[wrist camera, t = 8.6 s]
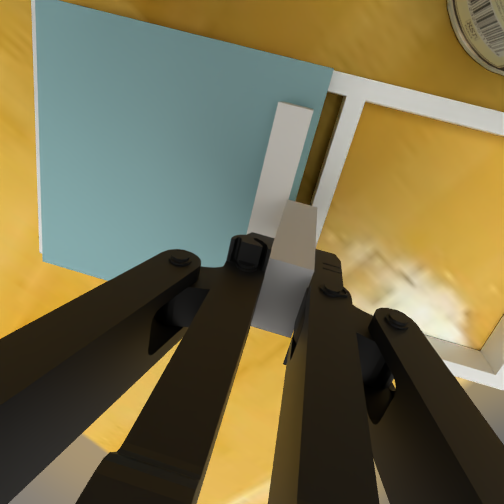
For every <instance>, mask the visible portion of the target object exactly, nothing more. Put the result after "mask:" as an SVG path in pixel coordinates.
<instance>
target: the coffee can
mask: <svg viewBox="0 0 504 504" xmlns="http://www.w3.org/2000/svg"><path fill="white" fill-rule="evenodd" d="M447 9H448V12H449V16H450V20H451V23H452V27H453V29H454V32H455V34H456V36H457V38H458V40H459V42H460V44H461V45H462V46H463V48H464V49H465V50H466V52H467V53H468V54H469V55H470V56H471V57H472V58H473V59H474V60H475V61H476V62H478V63H479V64H480V65H482V66H483V67H485V68H486V69H487V70H489V71H492V72H494V73H497V74H500V75H503V76H504V0H447Z"/></svg>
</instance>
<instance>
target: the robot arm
mask: <svg viewBox="0 0 504 504" xmlns="http://www.w3.org/2000/svg"><path fill="white" fill-rule="evenodd" d="M316 226H317V207H314V206H310V205H307V204H303V203H299V202H296V201H292V200H288V199H287V202H286V205H285V208H284V211H283V214H282V217H281V221H280V224H279V227H278V230H277V233H276V236H275V238H272V237H268V236H264V235H261V234H257V233H254V232H251V233H249V234H247V235H241V234H240V235H235V236H233V237H232V238H231V241H230V246H229V251H228V255H227V260H226V262H225V264H224V266H222V267H202V266H201V259H200V258H199V257H198V256H197V255H195V254H194V253H192V252H189V251H186V250H183V249H182V250H181V249H171V250H166V251H163V252H161V253H159V254H157V255H156V256H154V257H152V258H150V259H148V260H146V261H144V262H143V263H141V264H139V265H137V266H135V267H133V268H131V269H130V270H128V271H126V272H124V273H122V274H120V275H118V276H117V277H115V278H113V279H111V280H109V281H107V282H105V283H104V284H102V285H100V286H98V287H96V288H94V289H92V290H91V291H89V292H87V293H85V294H83V295H81V296H79V297H77V298H76V299H74V300H72V301H70V302H68V303H66V304H64V305H63V306H61V307H59V308H57V309H55V310H53V311H51V312H50V313H48V314H46V315H44V316H42V317H40V318H38V319H37V320H35V321H33V322H31V323H29V324H27V325H25V326H24V327H22V328H20V329H18V330H16V331H14V332H12V333H11V334H9V335H7V336H5V337H3V338H1V339H0V504H8V503H9V502H10V501H11V500H12V499H13V498H14V497H15V496H16V495H17V494H18V493H19V492H21V491H22V490H23V489H24V488H25V487H26V486H27V485H28V484H29V483H30V482H31V481H32V480H33V479H34V478H35V477H36V476H37V475H38V474H39V473H41V472H42V471H43V470H44V469H45V468H46V467H47V466H48V465H49V464H50V463H51V462H52V461H53V460H54V459H55V458H56V457H57V456H58V455H60V454H61V453H62V452H63V451H64V450H65V449H66V448H67V447H68V446H69V445H70V444H71V443H72V442H73V441H74V440H75V439H76V438H77V437H78V436H80V435H81V434H82V433H83V432H84V431H85V430H86V429H87V428H88V427H89V426H90V425H91V424H92V423H93V422H94V421H95V420H96V419H97V418H99V417H100V416H101V415H102V414H103V413H104V412H105V411H106V410H107V409H108V408H109V407H110V406H111V405H112V404H113V403H114V402H115V401H116V400H117V399H119V398H120V397H121V396H122V395H123V394H124V393H125V392H126V391H127V390H128V389H129V388H130V387H131V386H132V385H133V384H134V383H135V382H136V381H138V380H139V379H140V378H141V377H142V376H143V375H144V374H145V373H146V372H147V371H148V370H149V369H150V368H151V367H152V366H153V365H154V364H155V363H156V362H158V361H159V360H160V359H161V358H162V357H163V356H164V355H165V354H166V353H167V352H168V351H169V350H170V349H171V348H172V347H173V346H174V345H175V344H177V343H178V342H179V341H180V340H181V339H182V340H181V342H180V344H179V345H178V347H177V349H176V351H175V352H174V354H173V356H172V358H171V360H170V361H169V363H168V365H167V367H166V368H165V370H164V372H163V374H162V375H161V377H160V379H159V381H158V383H157V384H156V386H155V388H154V390H153V391H152V393H151V395H150V397H149V399H148V400H147V402H146V404H145V406H144V407H143V409H142V411H141V413H140V414H139V416H138V418H137V420H136V422H135V423H134V425H133V427H132V429H131V430H130V432H129V434H128V436H127V437H126V439H125V441H124V443H123V444H122V446H121V447H120V449H119V450H118V451H117V452H110V453H109V454H108V455H107V456H106V457H105V458H104V459H103V460H102V461H101V463H100V464H99V466H98V467H97V469H96V470H95V472H94V474H93V475H92V477H91V479H90V480H89V482H88V483H87V485H86V487H85V489H84V490H83V492H82V493H81V495H80V497H79V498H78V500H77V502H76V504H197V500H198V497H199V494H200V490H201V487H202V484H203V481H204V477H205V474H206V471H207V467H208V464H209V461H210V458H211V454H212V451H213V448H214V444H215V441H216V438H217V435H218V431H219V428H220V425H221V422H222V418H223V415H224V412H225V408H226V405H227V402H228V399H229V395H230V392H231V389H232V385H233V382H234V379H235V376H236V372H237V369H238V366H239V362H240V359H241V356H242V353H243V349H244V346H245V343H246V340H247V336H248V333H249V329H250V326H253V327H256V328H259V329H263V330H266V331H269V332H273V333H276V334H279V335H283V336H286V337H289V338H291V336H292V333H293V330H294V333H293V337H292V340H291V343H290V346H289V348H288V351H287V354H286V357H285V360H284V363H283V364H284V365H287V366H286V373H285V380H284V388H283V395H282V403H281V410H280V417H279V425H278V432H277V440H276V447H275V455H274V462H273V469H272V477H271V484H270V492H269V499H268V504H379V498H378V490H377V483H376V475H375V468H374V461H375V464H376V467H377V470H378V472H379V475H380V478H381V481H382V483H383V486H384V488H385V491H386V494H387V497H388V500H389V503H390V504H504V445H503V443H502V442H501V441H500V439H499V438H498V436H497V435H496V434H495V432H494V431H493V430H492V428H491V427H490V425H489V424H488V423H487V421H486V420H485V418H484V417H483V416H482V415H481V413H480V411H479V410H478V409H477V407H476V406H475V405H474V403H473V402H472V400H471V399H470V398H469V396H468V395H467V393H466V392H465V391H464V389H463V388H462V387H461V385H460V384H459V382H458V381H457V380H456V378H455V377H454V375H453V374H452V373H451V371H450V370H449V369H448V367H447V366H446V364H445V363H444V362H443V360H442V359H441V357H440V356H439V355H438V353H437V352H436V350H435V349H434V348H433V346H432V345H431V344H430V342H429V341H428V339H427V338H426V337H425V335H424V334H423V332H422V331H421V330H420V328H419V327H418V326H417V324H416V323H415V322H414V321H413V320H412V319H411V318H409V317H408V316H406V315H405V314H404V313H402V312H399V311H398V310H393V309H389V308H379V309H377V310H376V311H375V313H374V315H373V316H372V315H370V314H368V313H366V312H364V311H362V310H360V309H358V308H356V307H355V306H354V305H352V298H351V295H350V293H349V291H348V290H347V289H345V288H344V287H343V279H342V270H341V261H340V260H339V259H338V258H337V256H336V255H335V254H332V253H328V252H324V251H321V250H317V249H315V247H316ZM393 379H395V383H396V389H395V387H394V385H393V383H392V381H393ZM373 459H374V461H373Z"/></svg>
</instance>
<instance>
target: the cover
mask: <svg viewBox="0 0 504 504" xmlns="http://www.w3.org/2000/svg"><path fill="white" fill-rule="evenodd" d="M35 16H36V50H37V84H38V118H39V152H40V186H41V220H42V254H43V262H47V263H50V264H54V265H57V266H60V267H64V268H67V269H70V270H74V271H77V272H80V273H84V274H87V275H90V276H94V277H97V278H100V279H104V280H107V281H109V280H111V279H113V278H115V277H117V276H118V275H120V274H122V273H124V272H126V271H128V270H130V269H131V268H133V267H135V266H137V265H139V264H141V263H143V262H144V261H146V260H148V259H150V258H152V257H154V256H156V255H157V254H159V253H161V252H163V251H166V250H171V249H181V250H182V249H183V250H186V251H189V252H192V253H194V254H195V255H197V256H198V257H199V258H200V259H201V266H202V267H222V266H224V264H225V262H226V260H227V255H228V251H229V246H230V241H231V238H232V237H233V236H235V235H240V234H241V235H247V234H249V233H251V232H254V233H257V234H261V235H264V236H268V237H272V238H275V236H276V233H277V230H278V227H279V224H280V221H281V217H282V214H283V211H284V208H285V205H286V202H287V199H288V200H292V201H295V200H296V197H297V193H298V190H299V187H300V183H301V180H302V176H303V173H304V169H305V166H306V163H307V159H308V156H309V152H310V149H311V146H312V142H313V139H314V135H315V132H316V129H317V125H318V122H319V118H320V115H321V111H322V108H323V105H324V101H325V98H326V94H327V91H328V88H329V84H330V81H331V77H332V74H333V70H334V69H333V68H329V67H325V66H321V65H317V64H313V63H309V62H305V61H301V60H297V59H293V58H289V57H285V56H281V55H277V54H273V53H269V52H265V51H261V50H257V49H253V48H248V47H244V46H240V45H236V44H232V43H228V42H224V41H220V40H216V39H212V38H208V37H204V36H200V35H196V34H192V33H188V32H184V31H180V30H176V29H172V28H168V27H164V26H160V25H156V24H152V23H148V22H144V21H140V20H136V19H132V18H127V17H123V16H119V15H115V14H111V13H107V12H103V11H99V10H95V9H91V8H87V7H83V6H79V5H75V4H71V3H67V2H63V1H59V0H35Z"/></svg>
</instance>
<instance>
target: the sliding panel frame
mask: <svg viewBox="0 0 504 504" xmlns="http://www.w3.org/2000/svg"><path fill="white" fill-rule="evenodd" d="M31 9H32V39H33V69H34V99H35V129H36V159H37V189H38V219H39V249H40V253H42V220H41V186H40V152H39V118H38V84H37V50H36V16H35V0H31ZM327 92H328V93H332V94H336V95H340V96H344V97H343V100H342V103H341V107H340V110H339V113H338V116H337V119H336V123H335V126H334V129H333V132H332V135H331V139H330V142H329V145H328V148H327V151H326V155H325V158H324V161H323V164H322V167H321V171H320V174H319V177H318V180H317V183H316V187H315V190H314V193H313V196H312V199H311V203H310V206H314V207H317V226H316V245H317V242H318V239H319V236H320V233H321V230H322V227H323V225H324V222H325V219H326V216H327V213H328V210H329V207H330V204H331V201H332V198H333V195H334V192H335V189H336V186H337V183H338V180H339V177H340V174H341V171H342V168H343V166H344V163H345V160H346V157H347V154H348V151H349V148H350V145H351V142H352V139H353V136H354V133H355V130H356V127H357V124H358V121H359V118H360V115H361V112H362V109H363V106H364V104H365V102H368V103H372V104H376V105H380V106H384V107H388V108H391V109H395V110H399V111H403V112H407V113H411V114H415V115H419V116H423V117H427V118H431V119H435V120H439V121H443V122H447V123H451V124H455V125H459V126H463V127H467V128H471V129H475V130H479V131H483V132H487V133H491V134H494V135H498V136H502V137H504V112H500V111H496V110H492V109H488V108H484V107H480V106H476V105H472V104H468V103H464V102H460V101H456V100H452V99H447V98H443V97H439V96H435V95H431V94H427V93H423V92H419V91H415V90H411V89H407V88H403V87H399V86H395V85H391V84H387V83H383V82H379V81H375V80H371V79H367V78H363V77H359V76H355V75H351V74H347V73H343V72H339V71H335V70H333V74H332V77H331V81H330V84H329V88H328V91H327ZM315 248H316V247H315ZM425 337H426V338H427V339H428V341H429V342H430V344H431V345H432V346H433V348H434V349H435V350H436V352H437V353H438V355H439V356H440V357H441V359H442V360H443V362H444V363H445V364H446V366H447V367H448V369H449V370H450V371H451V373H452V374H453V375H454V376H456V377H460V378H463V379H467V380H470V381H473V382H477V383H480V384H483V385H487V386H490V387H494V388H497V389H500V390H504V315H503V317H502V318H501V320H500V321H499V323H498V324H497V326H496V327H495V329H494V331H493V332H492V334H491V335H490V337H489V338H488V340H487V341H486V343H485V344H484V346H483V347H482V349H481V351H478V350H475V349H472V348H468V347H465V346H461V345H458V344H454V343H451V342H447V341H444V340H441V339H437V338H434V337H430V336H427V335H425Z"/></svg>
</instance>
